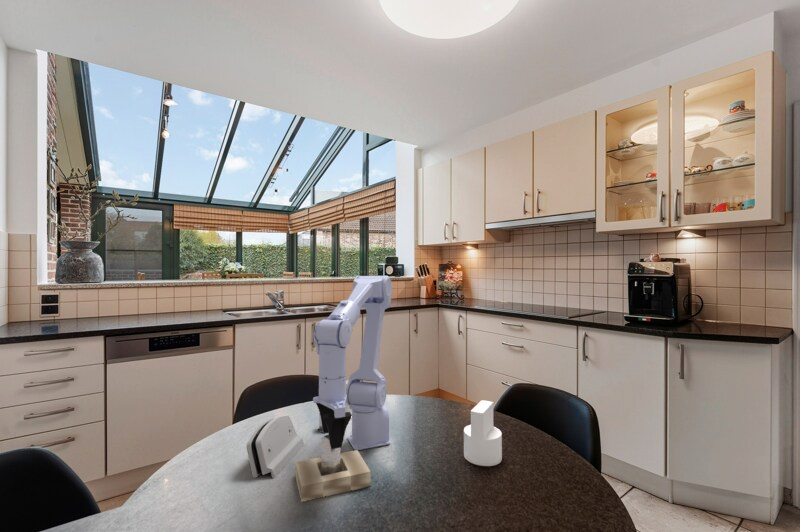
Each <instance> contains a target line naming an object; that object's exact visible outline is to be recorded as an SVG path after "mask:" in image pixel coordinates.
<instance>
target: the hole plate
mask: <svg viewBox="0 0 800 532" xmlns="http://www.w3.org/2000/svg"><path fill="white" fill-rule="evenodd" d="M294 464H295V465H294V471H295V472H294V475H295V476H294V477H295V480H296V485H297V489H298V493H299V498H301V499H300V502H301V503H304V502H308V501H307V500H309V501H311V499H313V500H316V499H315V498H317V499H320V498H319V497H321V498H325V496H326V497H330V496H333V495H338V494H343V493H345V492H346V491H347V492H350V491H351V490H352V491H355V490H361V489H364V488H368V487H371V482H372V481H371V472H372V471H371V470H370V467H368V465H367V463H366V461H365V460H364V459H363V457H362V455H361V453H360V452H359V450H351V451H346V452H341V472H338V473H333V474H328V475H324V476H321V466H322V456H319V457H315V458H314V457H313V458H308V459H305V460H304V459H303V460H298V461H295V463H294ZM352 491H351V492H352ZM347 492H346V493H347ZM303 501H304V502H303Z"/></svg>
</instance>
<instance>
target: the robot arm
mask: <svg viewBox="0 0 800 532" xmlns="http://www.w3.org/2000/svg"><path fill="white" fill-rule="evenodd" d="M392 285H393V283H392V279H391V278H390V277H389V276H388V275H383V276H382V275H379V276H378V275H377V276H376V275H356V277H354V279H353V281H352V291H351V293H350V294H349V296H348V297H347V299H344V300H341V301H340V302H339V303H338V304H337V306H336V307H335V308H334V309H333V311H332V312H331V313H330V314H329V316H328V317H327V318H326V319H325V318H324V319H321V320H320V321H319V322H317V323H316V325H315V328H314V332H313V342H314V345H315V347H316V348H315V349H316V350H315V352H316V354H317V355H318V396H314V397H313V398H312V401H313V403H314V404H316V406H317V409H318V412H319V413H320V416H321V421H322V427H323V431H324V432H323V433H324V434H326V435H329V441H330V446H331V449H335V448H341V449H342V447H343V444H344V443H343V442H344V438H345V434H346V431H347V430H346V429H347V426H348V425H349V423H350V421H351V435H348V436H347V438H346V439H347V440H348V441H349V444H350V445H351V447H352V448H353V449H354V450H353V451H355V450H358V451H361V450H368V449H371V448H378V447H382V446H388V445H391V441H390V414H389V410H388V408H387V406H386V405H385V403H386V399H387V379H386V378H385V376H384V375H383V374H382V373H381V372H380V371H379V370H378V366H379V358H380V350H381V349H380V348H381V341H382V331H383V323H384V317H385V312H386V311H385V310H387V309H390V306H391V302H392V294H393V286H392ZM361 308H363V309H365V312H366V315H365V323H364V330H363V337H362V344H361V353H360V359H359V366H358V369H356V370H355V371H354V372H353V373H351V374H350V375H349V377H348V380H349V381H348V385H347V387H346V381H347V346H348V345H349V344H350V341H351V338H352V333H353V327H354V326H355V324H356V322H357V321H358V319H359V318H360V316H361ZM359 381H360V382H359ZM346 402H347V404H348V405H350V409H352V414H351V413H350V412H345V403H346ZM351 416H352V418H351Z"/></svg>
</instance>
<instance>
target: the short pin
mask: <svg viewBox="0 0 800 532" xmlns="http://www.w3.org/2000/svg"><path fill="white" fill-rule="evenodd" d="M319 430H320V431H321V432H320V431H319ZM318 431H319V432H320V433H324V431H323V427H322V421H321V416H320V412H319V413H318Z"/></svg>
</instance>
